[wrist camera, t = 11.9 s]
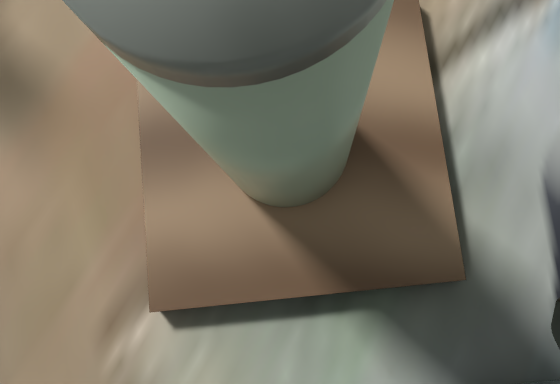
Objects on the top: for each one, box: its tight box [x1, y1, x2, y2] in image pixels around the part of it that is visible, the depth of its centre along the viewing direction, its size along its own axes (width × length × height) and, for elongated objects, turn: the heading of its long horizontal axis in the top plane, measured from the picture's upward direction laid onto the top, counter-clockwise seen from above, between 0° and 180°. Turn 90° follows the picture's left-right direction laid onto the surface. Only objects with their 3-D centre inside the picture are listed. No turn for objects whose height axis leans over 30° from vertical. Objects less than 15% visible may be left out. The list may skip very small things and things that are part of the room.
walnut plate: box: [137, 0, 466, 312], centre depth 19 cm, size 12×12×1 cm
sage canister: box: [63, 0, 394, 207], centre depth 12 cm, size 5×5×13 cm
